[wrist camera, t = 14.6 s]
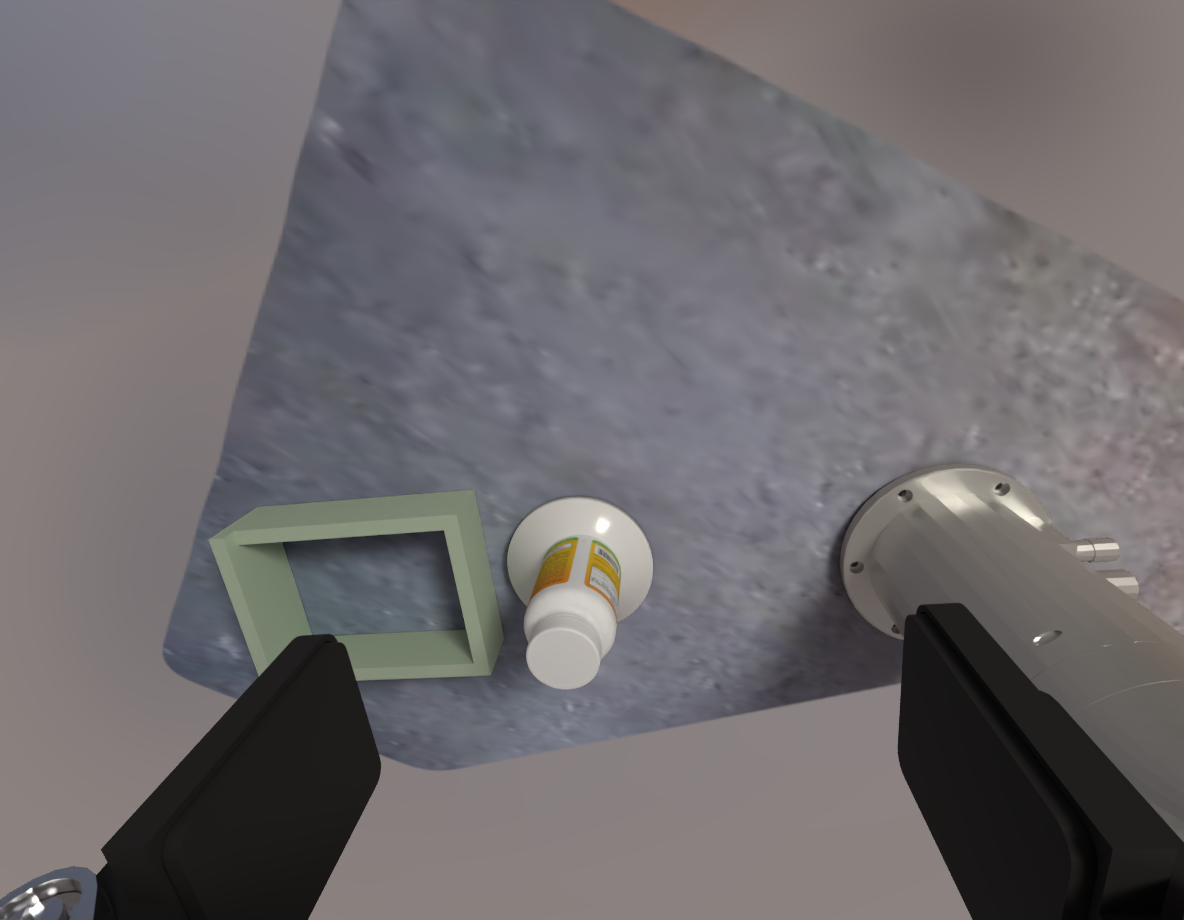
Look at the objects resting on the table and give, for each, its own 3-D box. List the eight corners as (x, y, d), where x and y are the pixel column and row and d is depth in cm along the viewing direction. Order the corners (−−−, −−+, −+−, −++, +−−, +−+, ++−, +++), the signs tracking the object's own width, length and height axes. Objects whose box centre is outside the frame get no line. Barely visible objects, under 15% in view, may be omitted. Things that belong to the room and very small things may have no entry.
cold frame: (474, 489, 40) (451, 521, 36) (504, 639, 44) (487, 685, 39) (257, 507, 42) (208, 539, 38) (304, 648, 46) (265, 693, 42)
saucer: (645, 489, 39) (645, 494, 38) (658, 619, 42) (659, 626, 42) (498, 501, 40) (495, 506, 40) (521, 626, 44) (519, 633, 43)
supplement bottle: (539, 594, 42) (507, 692, 33) (547, 526, 40) (517, 608, 31) (615, 607, 41) (605, 709, 32) (627, 539, 40) (620, 626, 30)
